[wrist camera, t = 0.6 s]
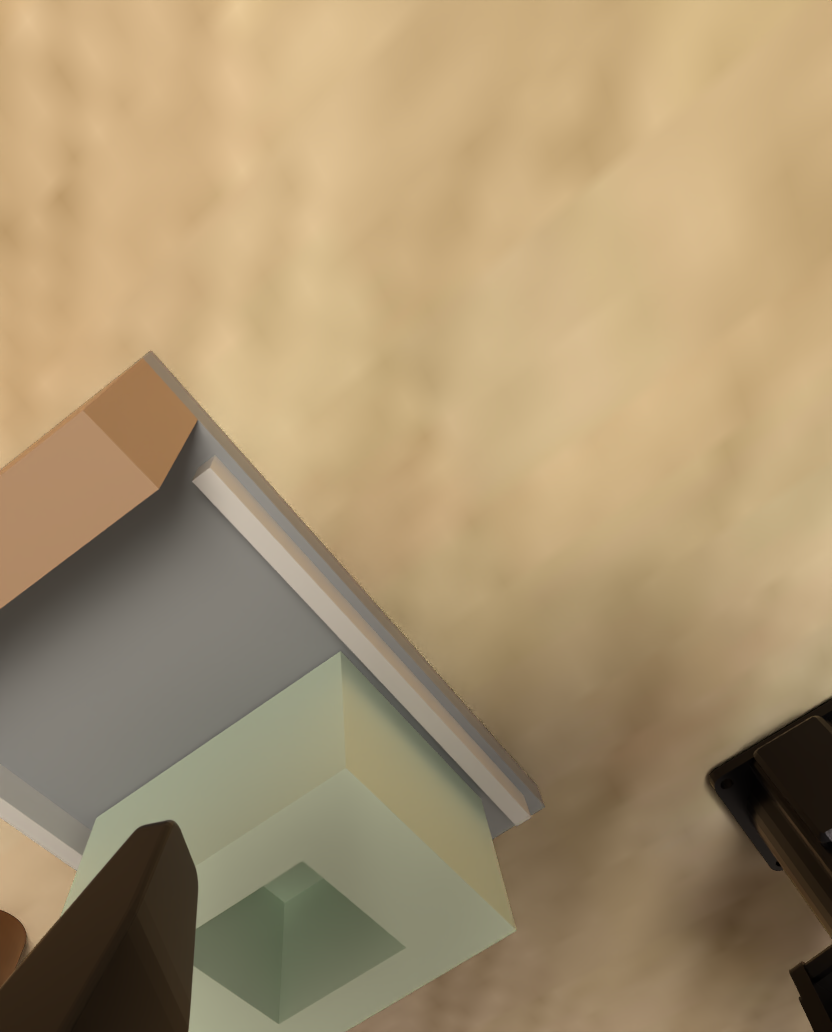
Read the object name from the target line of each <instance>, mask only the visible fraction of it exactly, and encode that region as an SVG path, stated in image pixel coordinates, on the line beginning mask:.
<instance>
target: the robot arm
mask: <svg viewBox="0 0 832 1032" xmlns="http://www.w3.org/2000/svg"><path fill="white" fill-rule="evenodd" d="M709 781H710V784H711V785H712V787H713V788H714V790H715V791H716V793H717V794H718V795H719V797H720V798H721V799H722V801H723V802H724V804H725V805H726V806H727V808H728V809H729V811H730V812H731V813H732V815H733V816H734V817H735V819H736V820H737V822H738V823H739V824H740V826H741V827H742V829H743V830H744V831H745V833H746V834H747V836H748V837H749V838H750V840H751V841H752V842H753V844H754V845H755V847H756V848H757V849H758V851H759V852H760V854H761V855H762V856H763V858H764V859H765V861H766V862H767V863H768V865H769V866H770V867H771V869H773V870H775V871H781V870H784V871H785V872H786V874H787V875H788V877H789V878H790V880H791V881H792V882H793V884H794V885H795V887H796V888H797V890H798V891H799V892H800V894H801V895H802V897H803V898H804V900H805V901H806V903H807V904H808V905H809V907H810V908H811V910H812V911H813V913H814V914H815V916H816V917H817V918H818V920H819V921H820V923H821V924H822V926H823V927H824V928H825V930H826V931H827V933H828V934H829V936H830V937H831V939H832V699H831V700H830V701H828V702H826V703H825V704H823V705H821V706H820V707H818V708H816V709H815V710H813V711H811V712H810V713H808V714H806V715H805V716H803V717H801V718H800V719H798V720H796V721H795V722H793V723H791V724H790V725H788V726H786V727H785V728H783V729H781V730H780V731H778V732H776V733H775V734H773V735H771V736H770V737H768V738H766V739H765V740H763V741H761V742H760V743H758V744H756V745H755V746H753V747H751V748H750V749H748V750H746V751H745V752H743V753H741V754H740V755H738V756H736V757H735V758H733V759H731V760H730V761H728V762H726V763H725V764H723V765H721V766H720V767H718V768H716V769H715V770H714V771H713V772H712V773H711V774H710V776H709ZM197 903H198V876H197V871H196V867H195V864H194V862H193V859H192V857H191V854H190V852H189V849H188V847H187V844H186V842H185V839H184V837H183V834H182V832H181V829H180V827H179V825H178V824H177V823H176V822H175V821H173V820H165V821H160V822H155V823H150V824H145V825H142V826H140V827H138V828H137V829H136V830H135V831H134V832H133V833H132V834H131V835H130V836H129V838H128V839H127V840H126V841H125V842H124V843H123V845H122V846H121V847H120V848H119V849H118V850H117V852H116V853H115V854H114V855H113V856H112V857H111V859H110V860H109V861H108V862H107V863H106V864H105V866H104V867H103V868H102V869H101V870H100V871H99V873H98V874H97V875H96V876H95V877H94V878H93V880H92V881H91V882H90V883H89V884H88V885H87V887H86V888H85V889H84V890H83V891H82V892H81V894H80V895H79V896H78V897H77V898H76V899H75V901H74V902H73V903H72V904H71V905H70V907H69V908H68V909H67V910H66V911H65V912H64V914H63V915H62V916H61V917H60V918H59V919H58V921H57V922H56V923H55V924H54V925H53V926H52V928H51V929H50V930H49V931H48V932H47V933H46V935H45V936H44V937H43V938H42V939H41V940H40V942H39V943H38V944H37V945H36V946H35V947H34V949H33V950H32V951H31V952H30V953H29V954H28V956H27V957H26V958H25V959H24V960H23V961H22V963H21V964H20V965H19V966H18V967H17V968H16V970H15V971H14V972H13V973H12V974H11V975H10V977H9V978H8V979H7V980H6V981H5V982H4V984H3V985H2V986H1V987H0V1032H188V1031H189V1020H190V1009H191V995H192V979H193V964H194V949H195V933H196V918H197ZM789 972H790V975H791V977H792V979H793V981H794V983H795V985H796V988H797V990H798V992H799V994H800V997H799V1000H800V1003H801V1005H802V1007H803V1009H804V1011H805V1013H806V1016H807V1018H808V1020H809V1022H810V1024H811V1026H812V1028H813V1031H814V1032H832V945H830V946H829V947H827V948H826V949H825V950H823V951H822V952H820V953H819V954H818V955H816V956H815V957H813V958H812V959H811V960H809V961H808V962H807V963H804V962H801V963H799V964H798V965H796V966H795V967H794V968H792V969H791V970H789Z"/></svg>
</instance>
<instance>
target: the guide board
mask: <svg viewBox="0 0 832 1032" xmlns="http://www.w3.org/2000/svg"><path fill="white" fill-rule="evenodd" d="M340 651H341V652H342V653H343V654H344V655H345V656H346V657H347V658H348V659H349V660H350V661H351V663H352V664H353V665H354V666H355V667H356V668H357V669H358V670H359V671H360V672H361V673H362V674H363V675H364V676H365V677H366V678H367V679H368V680H369V681H370V683H371V684H372V685H373V686H374V687H375V688H376V689H377V690H378V691H379V692H380V693H381V694H382V695H383V696H384V697H385V698H386V699H387V700H388V701H389V703H390V704H391V705H392V706H393V707H394V708H395V709H396V710H397V711H398V712H399V713H400V714H401V715H402V716H403V717H404V718H405V719H406V720H407V721H408V723H409V724H410V725H411V726H412V727H413V728H414V729H415V730H416V731H417V732H418V733H419V734H420V735H421V736H422V737H423V738H424V739H425V740H426V741H427V743H428V744H429V745H430V746H431V747H432V748H433V749H434V750H435V751H436V752H437V753H438V754H439V755H440V756H441V757H442V758H443V759H444V760H445V761H446V763H447V764H448V765H449V766H450V767H451V768H452V769H453V770H454V771H455V772H456V773H457V774H458V775H459V776H460V777H461V778H462V779H463V780H464V781H465V783H466V784H467V785H468V786H469V787H470V788H471V789H472V790H473V791H474V792H475V793H476V794H477V795H478V796H479V797H480V798H481V800H482V804H483V807H484V811H485V815H486V819H487V822H488V826H489V830H490V833H491V837H492V839H494V838H495V837H497V836H499V835H500V834H502V833H504V832H505V831H507V830H509V829H510V828H512V827H513V826H515V825H516V826H518V825H520V824H521V823H523V822H525V821H526V820H528V819H530V818H531V815H533V814H535V813H536V812H538V811H539V810H541V809H543V808H544V807H545V805H544V803H543V800H542V797H541V795H540V792H539V789H538V787H537V785H536V784H535V783H534V782H533V781H532V780H531V779H530V778H529V776H528V775H527V774H526V773H525V772H524V771H523V770H522V768H521V767H520V766H519V765H518V764H517V763H516V762H515V761H514V759H513V758H512V757H511V756H510V755H509V754H508V753H507V752H506V750H505V749H504V748H503V747H502V746H501V745H500V744H499V743H498V741H497V740H496V739H495V738H494V737H493V736H492V735H491V733H490V732H489V731H488V730H487V729H486V728H485V727H484V726H483V724H482V723H481V722H480V721H479V720H478V719H477V718H476V717H475V715H474V714H473V713H472V712H471V711H470V710H469V709H468V708H467V706H466V705H465V704H464V703H463V702H462V701H461V700H460V698H459V697H458V696H457V695H456V694H455V693H454V692H453V691H452V689H451V688H450V687H449V686H448V685H447V684H446V683H445V682H444V680H443V679H442V678H441V677H440V676H439V675H438V674H437V673H436V671H435V670H434V669H433V668H432V667H431V666H430V665H429V663H428V662H427V661H426V660H425V659H424V658H423V657H422V656H421V654H420V653H419V652H418V651H417V650H416V649H415V648H414V647H413V645H412V644H411V643H410V642H409V641H408V640H407V639H406V638H405V636H404V635H403V634H402V633H401V632H400V631H399V630H398V628H397V627H396V626H395V625H394V624H393V623H392V622H391V621H390V619H389V618H388V617H387V616H386V615H385V614H384V613H383V612H382V610H381V609H380V608H379V607H378V606H377V605H376V604H375V603H374V601H373V600H372V599H371V598H370V597H369V596H368V595H367V593H366V592H365V591H364V590H363V589H362V588H361V587H360V586H359V584H358V583H357V582H356V581H355V580H354V579H353V578H352V577H351V575H350V574H349V573H348V572H347V571H346V570H345V569H344V568H343V566H342V565H341V564H340V563H339V562H338V561H337V560H336V558H335V557H334V556H333V555H332V554H331V553H330V552H329V551H328V549H327V548H326V547H325V546H324V545H323V544H322V543H321V542H320V540H319V539H318V538H317V537H316V536H315V535H314V534H313V533H312V531H311V530H310V529H309V528H308V527H307V526H306V525H305V523H304V522H303V521H302V520H301V519H300V518H299V517H298V516H297V514H296V513H295V512H294V511H293V510H292V509H291V508H290V507H289V505H288V504H287V503H286V502H285V501H284V500H283V499H282V498H281V496H280V495H279V494H278V493H277V492H276V491H275V490H274V488H273V487H272V486H271V485H270V484H269V483H268V482H267V481H266V479H265V478H264V477H263V476H262V475H261V474H260V473H259V472H258V470H257V469H256V468H255V467H254V466H253V465H252V464H251V462H250V461H249V460H248V459H247V458H246V457H245V456H244V455H243V453H242V452H241V451H240V450H239V449H238V448H237V447H236V446H235V444H234V443H233V442H232V441H231V440H230V439H229V438H228V437H227V435H226V434H225V433H224V432H223V431H222V430H221V429H220V427H219V426H218V425H217V424H216V423H215V422H214V421H213V420H212V418H211V417H210V416H209V415H208V414H207V413H206V412H205V411H204V409H203V408H202V407H201V406H200V405H199V404H198V403H197V402H196V400H195V399H194V398H193V397H192V396H191V395H190V394H189V392H188V391H187V390H186V389H185V388H184V387H183V386H182V385H181V383H180V382H179V381H178V380H177V379H176V378H175V377H174V376H173V374H172V373H171V372H170V371H169V370H168V369H167V368H166V367H165V365H164V364H163V363H162V362H161V361H160V360H159V359H158V357H157V356H156V355H155V354H154V353H153V352H152V351H150V352H148V353H147V354H146V355H144V356H143V357H142V358H141V359H139V360H138V361H137V362H136V363H134V364H133V365H132V366H131V367H129V368H128V369H127V370H126V371H124V372H123V373H122V374H121V375H119V376H118V377H117V378H115V379H114V380H113V381H112V382H110V383H109V384H108V385H107V386H105V387H104V388H103V389H102V390H100V391H99V392H98V393H97V394H95V395H94V396H93V397H92V398H90V399H89V400H88V401H86V402H85V403H84V404H83V405H81V406H80V407H79V408H78V409H76V410H75V411H74V412H73V413H71V414H70V415H69V416H68V417H66V418H65V419H64V420H63V421H61V422H60V423H59V424H57V425H56V426H55V427H54V428H52V429H51V430H50V431H49V432H47V433H46V434H45V435H44V436H42V437H41V438H40V439H39V440H37V441H36V442H35V443H34V444H32V445H31V446H30V447H28V448H27V449H26V450H25V451H23V452H22V453H21V454H20V455H18V456H17V457H16V458H15V459H13V460H12V461H11V462H10V463H8V464H7V465H6V466H5V467H3V468H2V469H1V470H0V818H1V819H3V820H4V821H5V822H7V823H8V824H10V825H11V826H13V827H14V828H16V829H17V830H18V831H20V832H21V833H23V834H24V835H26V836H27V837H28V838H30V839H31V840H33V841H34V842H36V843H37V844H39V845H40V846H41V847H43V848H44V849H46V850H47V851H49V852H50V853H51V854H53V855H54V856H56V857H57V858H59V859H60V860H62V861H63V862H64V863H66V864H67V865H69V866H70V867H72V868H73V869H74V870H76V871H77V870H78V867H79V864H80V861H81V859H82V856H83V853H84V850H85V847H86V845H87V842H88V839H89V836H90V834H91V831H92V828H93V825H94V823H95V820H96V818H97V817H98V816H100V815H101V814H103V813H104V812H106V811H107V810H108V809H110V808H111V807H113V806H114V805H116V804H117V803H119V802H120V801H122V800H123V799H125V798H126V797H128V796H129V795H130V794H132V793H133V792H135V791H136V790H138V789H139V788H141V787H142V786H144V785H145V784H147V783H148V782H149V781H151V780H152V779H154V778H155V777H157V776H158V775H160V774H161V773H163V772H164V771H166V770H167V769H169V768H170V767H171V766H173V765H174V764H176V763H177V762H179V761H180V760H182V759H183V758H185V757H186V756H188V755H189V754H190V753H192V752H193V751H195V750H196V749H198V748H199V747H201V746H202V745H204V744H205V743H207V742H208V741H210V740H211V739H212V738H214V737H215V736H217V735H218V734H220V733H221V732H223V731H224V730H226V729H227V728H229V727H230V726H231V725H233V724H234V723H236V722H237V721H239V720H240V719H242V718H243V717H245V716H246V715H248V714H249V713H251V712H252V711H253V710H255V709H256V708H258V707H259V706H261V705H262V704H264V703H265V702H267V701H268V700H270V699H271V698H272V697H274V696H275V695H277V694H278V693H280V692H281V691H283V690H284V689H286V688H287V687H289V686H290V685H292V684H293V683H294V682H296V681H297V680H299V679H300V678H302V677H303V676H305V675H306V674H308V673H309V672H311V671H312V670H313V669H315V668H316V667H318V666H319V665H321V664H322V663H324V662H325V661H327V660H328V659H330V658H331V657H333V656H334V655H335V654H337V653H338V652H340Z"/></svg>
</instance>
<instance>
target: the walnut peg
mask: <svg viewBox="0 0 832 1032" xmlns="http://www.w3.org/2000/svg"><path fill="white" fill-rule="evenodd" d="M25 942H26V932H25V929H24V927H23V926H22V924H21V923H20V922H19V921H18V920H17V919H16V918H14V917H13V916H11V915H10V914H8V913H6V912H3V911H0V987H1V986H2V985H3V984H4V982H5V981H6V980H7V979H8V978H9V977H10V975H11V974H12V973H13V972H14V970H15V968H16V965H17V963H18V960H19V958H20V955H21V953H22V950H23V948H24V945H25Z"/></svg>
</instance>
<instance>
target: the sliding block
mask: <svg viewBox="0 0 832 1032" xmlns="http://www.w3.org/2000/svg"><path fill="white" fill-rule="evenodd" d="M165 820H173V821H175V822H176V823H177V824H178V825H179V827H180V829H181V832H182V834H183V837H184V839H185V842H186V844H187V847H188V849H189V852H190V854H191V857H192V859H193V862H194V864H195V867H196V871H197V876H198V903H197V918H196V933H195V949H194V964H193V979H192V995H191V1009H190V1020H189V1031H188V1032H346V1031H348V1030H349V1029H351V1028H353V1027H354V1026H356V1025H358V1024H359V1023H361V1022H363V1021H365V1020H366V1019H368V1018H370V1017H371V1016H373V1015H375V1014H376V1013H378V1012H380V1011H381V1010H383V1009H385V1008H387V1007H388V1006H390V1005H392V1004H393V1003H395V1002H397V1001H398V1000H400V999H402V998H404V997H405V996H407V995H409V994H410V993H412V992H414V991H415V990H417V989H419V988H421V987H422V986H424V985H426V984H427V983H429V982H431V981H432V980H434V979H436V978H437V977H439V976H441V975H443V974H444V973H446V972H448V971H449V970H451V969H453V968H454V967H456V966H458V965H460V964H461V963H463V962H465V961H466V960H468V959H470V958H471V957H473V956H475V955H477V954H478V953H480V952H482V951H483V950H485V949H487V948H488V947H490V946H492V945H493V944H495V943H497V942H499V941H500V940H502V939H504V938H505V937H507V936H509V935H510V934H512V933H514V932H516V931H517V929H516V926H515V922H514V918H513V915H512V911H511V907H510V904H509V900H508V896H507V892H506V889H505V885H504V881H503V878H502V874H501V870H500V867H499V863H498V859H497V856H496V852H495V848H494V844H493V841H492V837H491V833H490V830H489V826H488V822H487V819H486V815H485V811H484V807H483V804H482V800H481V798H480V797H479V796H478V795H477V794H476V793H475V792H474V791H473V790H472V789H471V788H470V787H469V786H468V785H467V784H466V783H465V781H464V780H463V779H462V778H461V777H460V776H459V775H458V774H457V773H456V772H455V771H454V770H453V769H452V768H451V767H450V766H449V765H448V764H447V763H446V761H445V760H444V759H443V758H442V757H441V756H440V755H439V754H438V753H437V752H436V751H435V750H434V749H433V748H432V747H431V746H430V745H429V744H428V743H427V741H426V740H425V739H424V738H423V737H422V736H421V735H420V734H419V733H418V732H417V731H416V730H415V729H414V728H413V727H412V726H411V725H410V724H409V723H408V721H407V720H406V719H405V718H404V717H403V716H402V715H401V714H400V713H399V712H398V711H397V710H396V709H395V708H394V707H393V706H392V705H391V704H390V703H389V701H388V700H387V699H386V698H385V697H384V696H383V695H382V694H381V693H380V692H379V691H378V690H377V689H376V688H375V687H374V686H373V685H372V684H371V683H370V681H369V680H368V679H367V678H366V677H365V676H364V675H363V674H362V673H361V672H360V671H359V670H358V669H357V668H356V667H355V666H354V665H353V664H352V663H351V661H350V660H349V659H348V658H347V657H346V656H345V655H344V654H343V653H342V652H341V651H340V652H338V653H337V654H335V655H334V656H333V657H331V658H330V659H328V660H327V661H325V662H324V663H322V664H321V665H319V666H318V667H316V668H315V669H313V670H312V671H311V672H309V673H308V674H306V675H305V676H303V677H302V678H300V679H299V680H297V681H296V682H294V683H293V684H292V685H290V686H289V687H287V688H286V689H284V690H283V691H281V692H280V693H278V694H277V695H275V696H274V697H272V698H271V699H270V700H268V701H267V702H265V703H264V704H262V705H261V706H259V707H258V708H256V709H255V710H253V711H252V712H251V713H249V714H248V715H246V716H245V717H243V718H242V719H240V720H239V721H237V722H236V723H234V724H233V725H231V726H230V727H229V728H227V729H226V730H224V731H223V732H221V733H220V734H218V735H217V736H215V737H214V738H212V739H211V740H210V741H208V742H207V743H205V744H204V745H202V746H201V747H199V748H198V749H196V750H195V751H193V752H192V753H190V754H189V755H188V756H186V757H185V758H183V759H182V760H180V761H179V762H177V763H176V764H174V765H173V766H171V767H170V768H169V769H167V770H166V771H164V772H163V773H161V774H160V775H158V776H157V777H155V778H154V779H152V780H151V781H149V782H148V783H147V784H145V785H144V786H142V787H141V788H139V789H138V790H136V791H135V792H133V793H132V794H130V795H129V796H128V797H126V798H125V799H123V800H122V801H120V802H119V803H117V804H116V805H114V806H113V807H111V808H110V809H108V810H107V811H106V812H104V813H103V814H101V815H100V816H98V817H97V818H96V820H95V823H94V825H93V828H92V831H91V834H90V836H89V839H88V842H87V845H86V847H85V850H84V853H83V856H82V859H81V861H80V864H79V867H78V870H77V872H76V875H75V878H74V881H73V883H72V886H71V889H70V892H69V894H68V897H67V900H66V903H65V905H64V908H63V911H62V914H61V916H62V915H63V914H64V912H65V911H66V910H67V909H68V908H69V907H70V905H71V904H72V903H73V902H74V901H75V899H76V898H77V897H78V896H79V895H80V894H81V892H82V891H83V890H84V889H85V888H86V887H87V885H88V884H89V883H90V882H91V881H92V880H93V878H94V877H95V876H96V875H97V874H98V873H99V871H100V870H101V869H102V868H103V867H104V866H105V864H106V863H107V862H108V861H109V860H110V859H111V857H112V856H113V855H114V854H115V853H116V852H117V850H118V849H119V848H120V847H121V846H122V845H123V843H124V842H125V841H126V840H127V839H128V838H129V836H130V835H131V834H132V833H133V832H134V831H135V830H136V829H137V828H138V827H140V826H142V825H145V824H150V823H155V822H160V821H165ZM61 916H60V917H61Z"/></svg>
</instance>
